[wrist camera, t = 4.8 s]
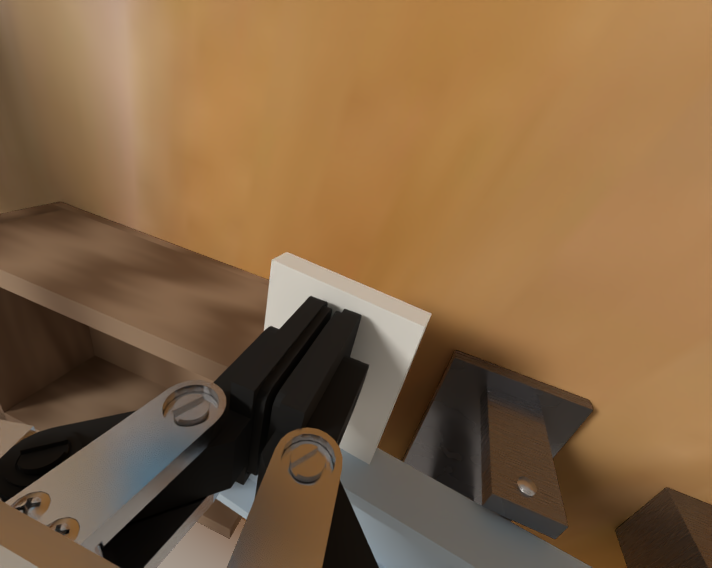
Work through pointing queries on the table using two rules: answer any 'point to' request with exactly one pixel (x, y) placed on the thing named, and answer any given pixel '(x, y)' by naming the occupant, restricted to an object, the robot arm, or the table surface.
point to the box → (113, 320)
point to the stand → (537, 462)
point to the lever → (381, 470)
